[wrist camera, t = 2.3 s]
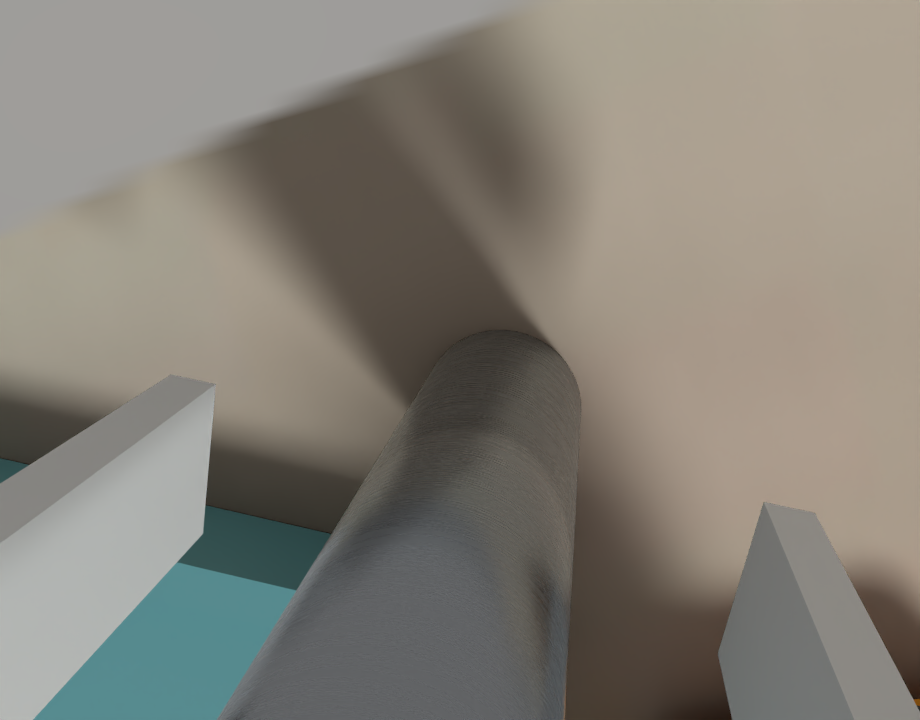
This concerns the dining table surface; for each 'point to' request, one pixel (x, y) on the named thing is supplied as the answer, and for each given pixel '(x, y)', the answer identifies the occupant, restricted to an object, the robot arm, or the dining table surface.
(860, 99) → the dining table surface
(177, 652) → the tray
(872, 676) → the robot arm
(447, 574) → the pin
